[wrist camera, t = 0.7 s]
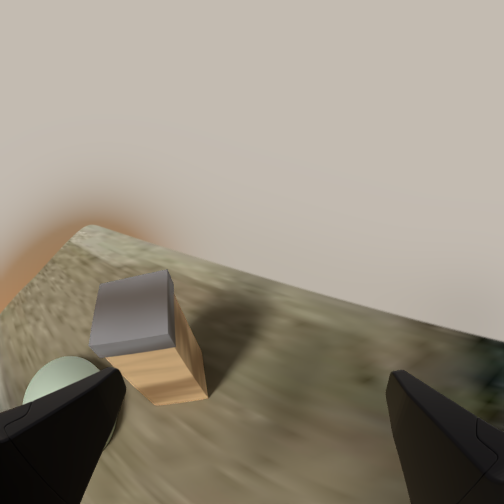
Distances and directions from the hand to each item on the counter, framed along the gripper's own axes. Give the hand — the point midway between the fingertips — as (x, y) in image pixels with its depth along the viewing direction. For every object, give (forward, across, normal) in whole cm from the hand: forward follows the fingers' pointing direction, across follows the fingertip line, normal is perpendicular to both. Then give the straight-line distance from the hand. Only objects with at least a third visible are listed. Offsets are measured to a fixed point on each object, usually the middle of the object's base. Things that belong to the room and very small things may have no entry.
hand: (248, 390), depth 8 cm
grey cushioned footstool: (+13, +9, +11) cm, 19 cm away
